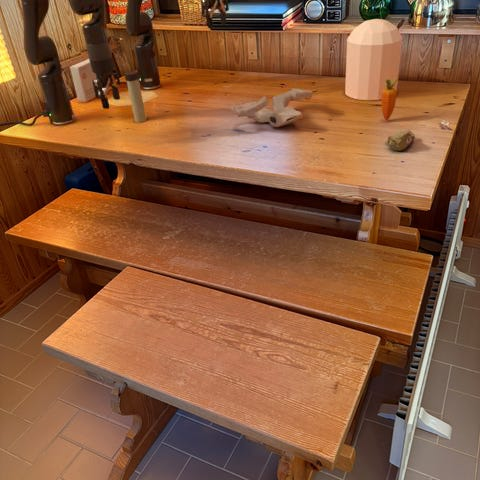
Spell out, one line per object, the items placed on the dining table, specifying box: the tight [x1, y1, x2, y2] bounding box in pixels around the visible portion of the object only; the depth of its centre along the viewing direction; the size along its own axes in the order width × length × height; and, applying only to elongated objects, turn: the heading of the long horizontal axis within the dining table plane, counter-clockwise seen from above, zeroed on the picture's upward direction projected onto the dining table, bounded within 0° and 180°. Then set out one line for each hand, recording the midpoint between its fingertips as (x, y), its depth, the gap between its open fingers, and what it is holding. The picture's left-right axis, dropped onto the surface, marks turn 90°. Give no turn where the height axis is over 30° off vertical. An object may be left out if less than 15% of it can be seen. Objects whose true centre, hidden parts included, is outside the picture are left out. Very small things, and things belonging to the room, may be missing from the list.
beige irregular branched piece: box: [231, 88, 314, 128], centre depth 171 cm, size 28×26×12 cm
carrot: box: [380, 79, 398, 122], centre depth 161 cm, size 5×5×15 cm
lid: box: [123, 70, 139, 82], centre depth 178 cm, size 5×5×2 cm
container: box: [344, 18, 403, 101], centre depth 185 cm, size 21×21×28 cm
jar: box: [126, 79, 147, 123], centre depth 183 cm, size 5×5×18 cm
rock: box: [387, 129, 416, 152], centre depth 146 cm, size 11×6×10 cm
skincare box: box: [69, 58, 112, 103], centre depth 218 cm, size 21×6×16 cm, turn 158°
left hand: (111, 103), depth 163 cm, fingers open, 8 cm apart
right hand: (217, 25), depth 186 cm, fingers open, 8 cm apart
